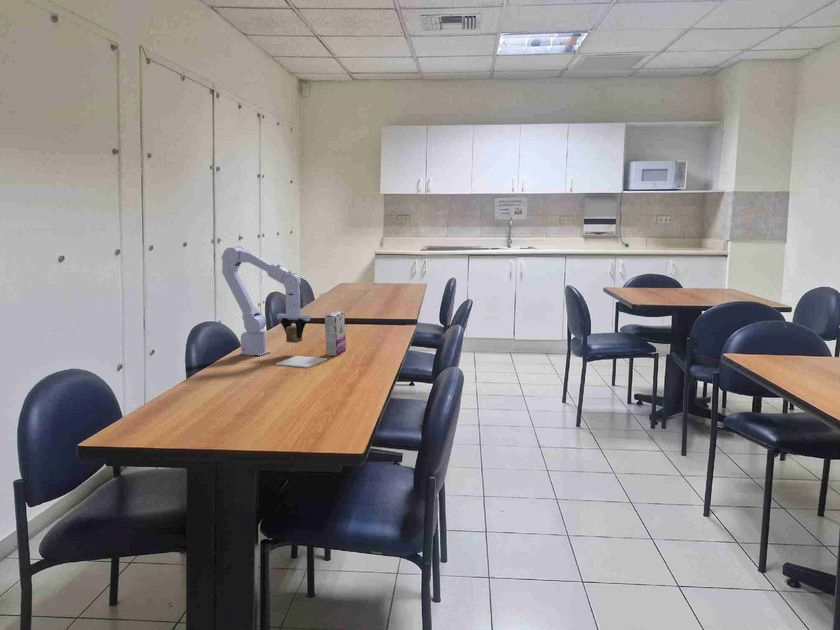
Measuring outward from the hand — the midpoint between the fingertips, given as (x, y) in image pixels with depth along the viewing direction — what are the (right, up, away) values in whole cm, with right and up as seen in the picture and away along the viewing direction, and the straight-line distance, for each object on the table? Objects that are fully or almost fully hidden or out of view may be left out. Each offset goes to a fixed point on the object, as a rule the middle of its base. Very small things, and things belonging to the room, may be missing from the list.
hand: (294, 337), depth 256 cm
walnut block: (0, -2, 0) cm, 2 cm away
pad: (+6, -9, -14) cm, 18 cm away
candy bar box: (+17, -7, +2) cm, 18 cm away
